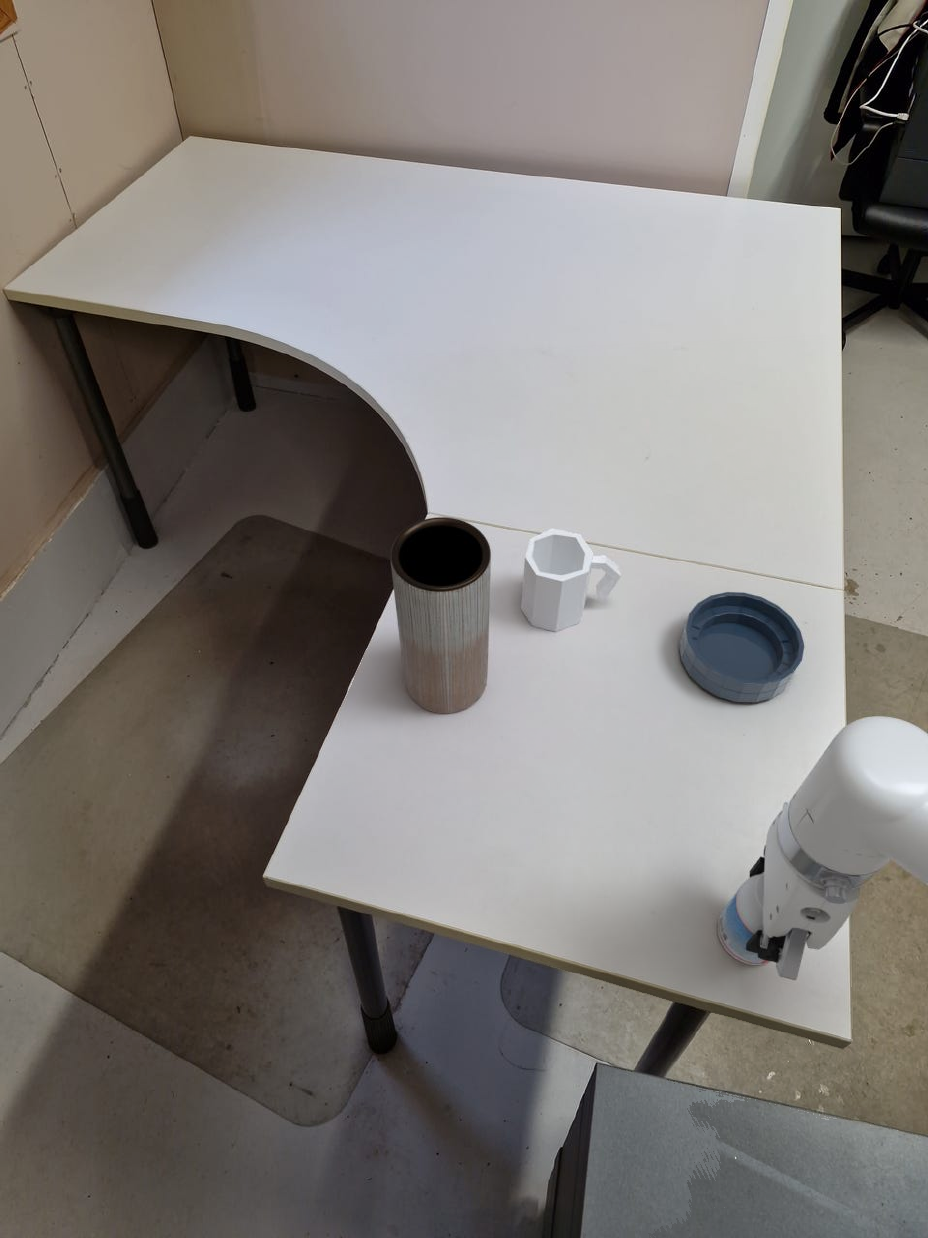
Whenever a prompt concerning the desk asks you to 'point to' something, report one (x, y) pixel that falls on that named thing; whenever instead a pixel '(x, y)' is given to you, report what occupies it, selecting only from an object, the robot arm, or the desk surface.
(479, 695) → the planter
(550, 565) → the mug
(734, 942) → the pill bottle
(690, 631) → the dish
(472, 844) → the desk surface
